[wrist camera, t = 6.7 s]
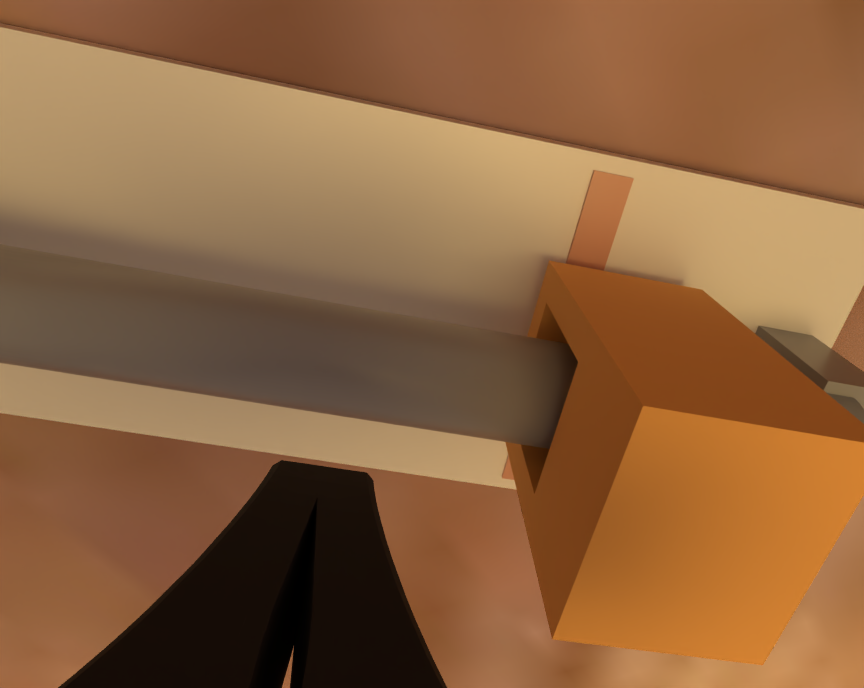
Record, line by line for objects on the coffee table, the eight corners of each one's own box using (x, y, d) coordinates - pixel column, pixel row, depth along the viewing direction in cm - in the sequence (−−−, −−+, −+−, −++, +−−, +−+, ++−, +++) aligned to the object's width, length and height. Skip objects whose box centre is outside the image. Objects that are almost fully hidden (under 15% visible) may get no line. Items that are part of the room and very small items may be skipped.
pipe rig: (872, 207, 17) (1061, 272, 12) (728, 503, 21) (826, 642, 16) (-228, -25, 14) (-575, -66, 9) (-151, 369, 18) (-362, 490, 13)
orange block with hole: (702, 289, 16) (892, 447, 10) (639, 447, 18) (762, 665, 12) (549, 260, 16) (643, 406, 9) (501, 425, 18) (552, 639, 11)
